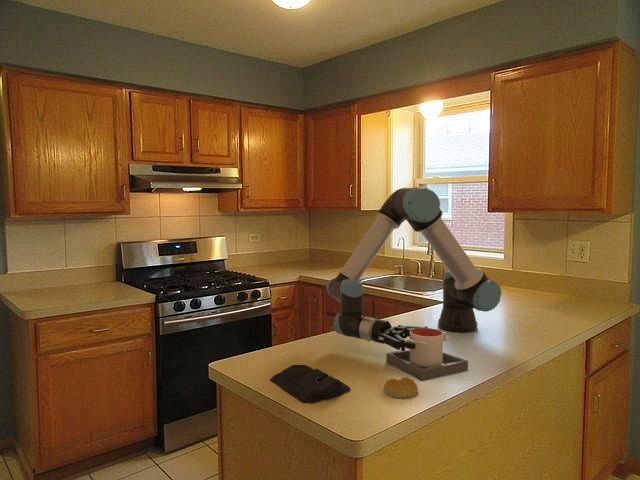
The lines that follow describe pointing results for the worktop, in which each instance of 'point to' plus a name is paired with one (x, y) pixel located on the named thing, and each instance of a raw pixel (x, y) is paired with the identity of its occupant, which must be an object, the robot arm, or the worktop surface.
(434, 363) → the cup
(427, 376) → the tray
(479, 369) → the worktop surface
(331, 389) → the dark slate chunk
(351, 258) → the robot arm
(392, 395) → the bread roll
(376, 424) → the worktop surface
